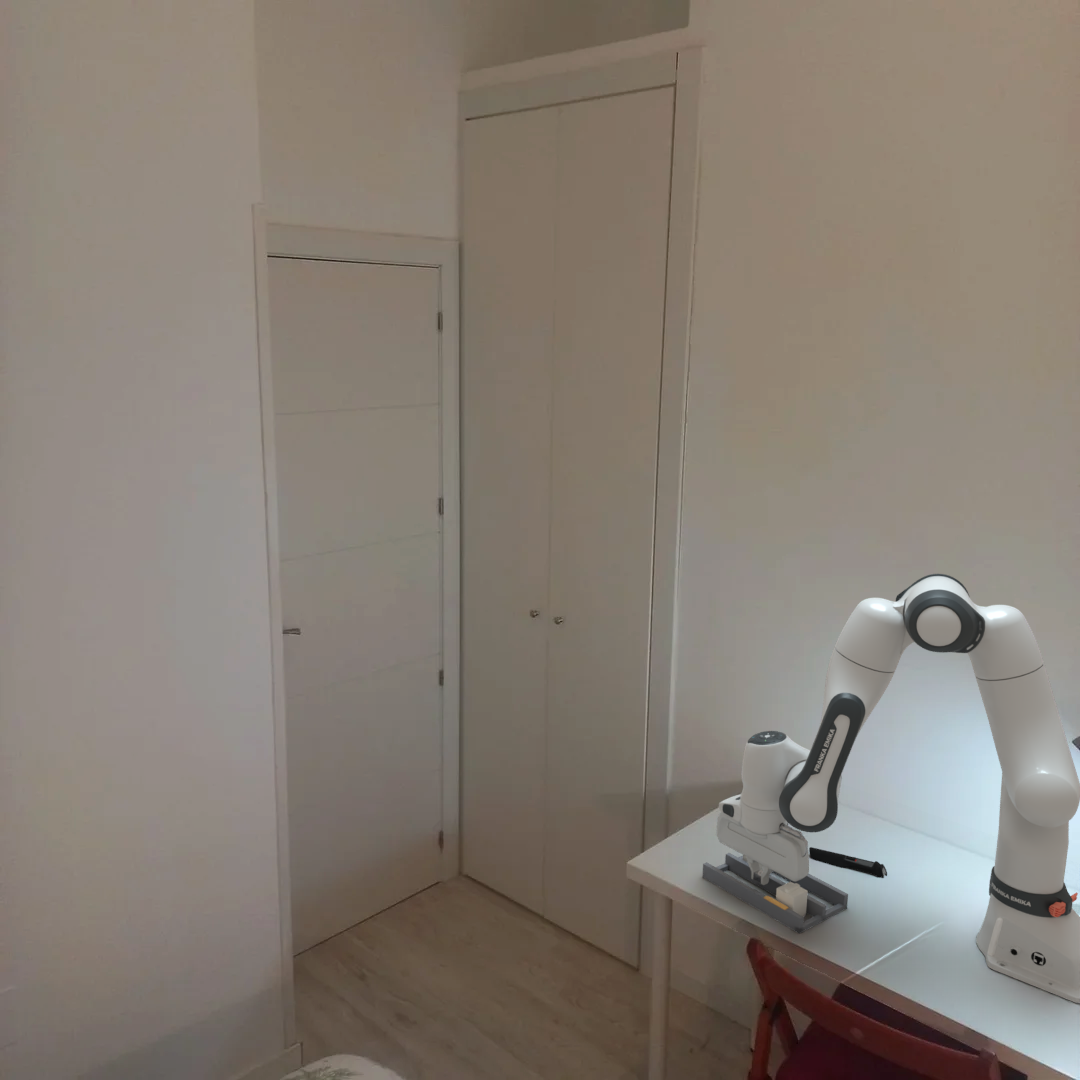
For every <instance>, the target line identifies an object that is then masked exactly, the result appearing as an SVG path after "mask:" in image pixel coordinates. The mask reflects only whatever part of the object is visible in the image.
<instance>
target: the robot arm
mask: <svg viewBox="0 0 1080 1080" xmlns="http://www.w3.org/2000/svg"><path fill="white" fill-rule="evenodd" d="M970 597H971V596H970V594H969V591H968V590H967V588H966V587H965V585H964V584H963V583H962V582H960V580H959V579H956V578H955V577H954V576H951V575H950V574H949V575H948V574H944V573H931V574H927V575H925V576H923V577H921V578H919V579H917V580H915V582H913V583H912V584H910V585H909V586H908V587H907V588H905V589H904V590H903V591H901V592H899V594H897V595H896V598H895V601H893V600H889V599H887V598H882V597H869V598H865V599H862V600H861V601H860V602H859V603H858V604H857V605H856V607H855V608H854V609H853V611H852V612H851V614H850V615H849V617H848V619H847V620H846V623H844V626H843V628H842V630H841V632H840V633H839V635H838V637H837V640H836V643H835V645H834V648H833V649H832V653H831V655H830V658H829V663H828V667H827V671H826V676H825V677H826V678H825V684H824V691H823V693H824V694H823V703H822V704H823V705H822V706H823V707H822V712H821V719H820V723H819V727H818V729H817V732H816V735H815V738H814V741H813V742H812V744H811V745H812V746H811V748H810V749H808V748H807V747H803V746H802V745H800V744H798V743H797V742H796V741H794V740H793V739H791V738H790V736H789V735H787V734H786V733H784V732H781V731H777V730H766V731H761V732H758V733H757V732H756V733H755V734H753V735H752V736H751V737H750V738H749V739H748V740H747V741H746V743H745V746H744V751H743V756H742V763H741V781H742V786H743V787H742V791H741V793H740V794H736V795H733V796H730V797H728V798H726V799H723V800H722V801H719V803H718V810H719V813H718V815H717V821H716V834H715V835H716V837H717V840H718V842H719V843H720V844H722V845H724V846H726V847H728V848H729V849H731V850H734V851H735V852H736V853H739V854H741V855H742V856H743V855H745V856H747V862H748V865H749V867H750V870H751V879H753V880H755V881H757V882H759V883H760V884H762V885H765V884H767V883H768V882H769V875H771V874H772V873H773V872H772V871H775V872H777V873H779V874H781V875H783V876H785V877H786V878H788V879H790V880H792V881H798V880H801V879H803V878H804V877H806V876H807V875H808V874H810V858H809V857H810V854H809V848H808V847H809V844H808V843H809V842H808V840H807V839H806V838H805V836H804V835H803V833H802V832H806V833H819V832H820V833H821V832H823V831H825V830H827V829H828V828H830V827H831V826H832V825H833V824H834V823H835V821H836V819H837V816H838V811H839V809H838V808H839V799H840V798H839V796H840V793H841V792H840V791H841V786H842V785H841V784H842V779H843V778H842V773H843V772H844V768H845V766H846V764H847V761H848V760H849V759H848V758H849V756H850V754H851V752H852V749H853V746H854V743H855V741H856V739H857V737H858V735H859V733H860V731H861V729H863V726H864V725H865V723H866V722H867V720H868V719H869V717H870V715H871V714H872V712H873V711H874V709H875V708H876V707H877V704H878V703H879V701H880V700H881V699H882V697H883V695H884V694H885V692H886V690H887V688H888V687H889V685H890V683H891V681H892V679H893V677H894V675H895V672H896V670H897V667H898V665H899V662H900V661H901V658H902V655H903V654H904V652H905V650H906V649H907V648H908V647H909V646H910V645H912V644H913V643H915V644H916V645H917V646H919V647H920V648H922V649H924V650H926V651H929V652H933V653H956V654H967V655H968V657H969V659H970V662H971V665H972V669H973V673H974V676H975V679H976V683H977V687H978V690H979V692H980V697H981V699H982V700H981V701H982V702H983V703H982V704H983V707H984V709H985V713H986V717H987V720H988V723H989V728H990V732H991V735H992V740H993V743H994V746H995V750H996V754H997V758H998V761H999V765H1000V769H1001V772H1002V773H1001V784H1000V798H999V814H998V815H999V816H998V829H997V830H998V833H997V841H996V842H997V843H996V849H995V859H994V866H992V868H991V872H990V878H989V885H988V886H989V887H988V895H989V899H988V905H987V909H986V912H985V916H984V918H983V919H984V920H982V921H983V922H982V925H981V927H980V929H979V931H978V932H977V935H976V937H975V938H976V939H975V941H976V945H977V947H978V949H979V950H980V951H981V952H982V954H983V955H984V957H985V962H986V965H987V967H988V968H990V969H992V970H993V971H996V972H999V973H1001V974H1003V975H1006V976H1008V977H1011V978H1014V979H1016V980H1019V981H1020V982H1024V983H1025V984H1028V985H1031V986H1034V987H1036V988H1038V989H1041V990H1043V991H1045V992H1048V993H1051V994H1053V995H1056V996H1058V997H1061V998H1062V999H1066V1000H1068V1001H1071V1002H1073V1003H1076V1004H1080V915H1079V914H1078V913H1077V912H1076V911H1075V909H1073V903H1074V902H1075V901H1076V900H1078V894H1079V893H1078V892H1075V893H1073V894H1071V895H1070V893H1069V891H1068V889H1067V888H1068V887H1067V886H1066V883H1065V873H1066V866H1067V858H1068V850H1069V844H1070V843H1069V842H1070V839H1069V833H1070V832H1069V830H1070V829H1069V827H1070V825H1069V823H1070V821H1071V820H1072V819H1073V817H1074V816H1075V815H1076V813H1077V812H1078V809H1079V806H1080V779H1079V777H1078V774H1077V770H1076V766H1075V763H1074V759H1073V757H1072V753H1071V750H1070V749H1071V748H1070V745H1069V743H1068V740H1067V736H1066V733H1065V729H1064V726H1063V722H1062V718H1061V716H1060V712H1059V709H1058V706H1057V705H1058V704H1057V702H1056V699H1055V695H1054V692H1053V688H1052V685H1051V681H1050V678H1049V675H1048V674H1049V673H1048V671H1047V668H1046V665H1045V662H1044V657H1043V654H1042V651H1041V649H1040V646H1039V644H1038V643H1039V642H1038V641H1037V638H1036V637H1035V634H1034V632H1033V630H1032V628H1031V626H1030V624H1029V622H1028V620H1027V619H1026V616H1025V615H1024V613H1022V611H1021V610H1020V609H1018V608H1016V607H1014V606H1011V605H1008V604H991V605H988V606H981V605H978V604H976V603H975V602H973V600H972V599H971V598H970ZM787 822H788V826H787ZM789 825H790V826H789ZM791 826H792V827H793V828H792V827H791ZM759 863H760V864H762V869H763V870H764V871H762V870H760V867H759Z"/></svg>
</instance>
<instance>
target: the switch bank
mask: <svg viewBox="0 0 1080 1080" xmlns="http://www.w3.org/2000/svg"><path fill="white" fill-rule="evenodd" d="M724 858H725V859H724V861H725V862H724V863H721V864H720V865H718V866H714V865H713V864H710V863H709V862H704V863H702V878H703V879H705V880H706V881H708V882H710V883H712V884H713V885H715V886H717V887H718V888H720V889H721V890H724V891H725V892H727V893H729V894H730V895H732V896H734V897H736V898H737V899H739V900H741V901H743V902H744V903H745V904H747V905H750V906H751V907H753V908H754V909H756V910H758V911H760V912H761V913H763V914H765V915H766V916H768V917H770V918H772V919H773V920H775V921H777V922H778V923H780V924H782V925H784V926H786V927H787V928H789V929H790V930H792V931H793V932H796V933H798V934H802V933H803V932H805V931H807V930H808V929H810V928H813V927H815V926H816V925H819V924H820V923H822V922H824V921H825V920H827V919H831V917H834V916H835V915H837V914H840V913H841V912H843V911H845V910H846V909H848V900H849V899H848V898H849V894H848V893H847V892H845V891H843V890H841V889H839V888H837V887H835V886H833V885H832V884H831V883H828V882H826V881H824V880H822V879H820V878H818V877H816V876H814V875H812V874H811V873H808V875H807V876H806V877H804V878H803V879H801V880H798V881H792V880H790V879H788V878H786V877H785V876H783V875H781V874H779V873H777V872H775V871H772V872H771V873H774V874H775V875H778V877H779V876H780V877H781V878H783V879H785V880H787V881H789V882H792V883H794V884H795V883H797V884H799V885H800V887H802V888H803V889H805V890H807V891H808V892H809V893H811V894H813V895H815V896H817V897H818V898H821V899H822V900H825V902H828V903H829V904H832V905H833V906H831V907H829V908H828V909H827V905H826V904H825V903H823V902H822V901H819V900H817V899H815V898H814V897H811V896H810V895H808V894H807V907H806V915H807V914H808V915H810V918H809V919H806V920H804V919H805V918H804V917H805V916H801V915H799V914H798V913H796V912H794V911H792V910H791V909H789V907H787V906H786V905H784V904H782V903H780V902H778V901H777V900H776V898H773V897H772V896H769V895H766V894H764V893H762V892H760V891H758V890H757V889H755V888H753V887H751V886H750V885H748V884H746V883H744V882H742V881H741V880H739V879H737V878H735V877H734V876H732V875H730V874H728V873H727V871H730V872H732V873H734V874H736V875H738V876H739V877H741V878H743V879H745V880H747V881H748V882H750V883H752V884H754V885H755V886H757V887H759V888H761V889H763V890H765V891H766V892H768V893H770V894H772V895H773V896H775V897H776V890H777V888H778V887H780V886H782V885H784V884H787V882H784V881H783V880H780V879H778V878H777V877H775V876H773V875H771V874H770V875H769V882H768V883H767V884H765V885H762V884H760V883H759V882H757V881H755V880H753V879H751V870H750V867H749V865H748V863H747V862H745V861H744V860H743V855H741V856H739V857H737V855H734V854H732V853H731V852H727V853H725V857H724Z"/></svg>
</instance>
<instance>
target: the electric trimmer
mask: <svg viewBox="0 0 1080 1080" xmlns="http://www.w3.org/2000/svg"><path fill="white" fill-rule="evenodd" d="M808 853H809V857H810V859H811V860H814V861H817V862H819V863H823V864H827V865H830V866H832V867H836V868H839V869H840V868H841V869H849V870H854V871H858V872H862V873H866V874H870V875H873V876H875V877H876V878H882V879H884V878H885V877H887V876H888V872H887V869H886V867H885V865H884V864H883V863H880V862H878V861H876V860H875V861H872V860H871V861H870V860H866V859H862V858H859V857H856V856H851V855H846V854H843V853H838V852H833V851H830V850H824V849H820V848H816V847H812V846H811V847H809V848H808Z"/></svg>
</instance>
